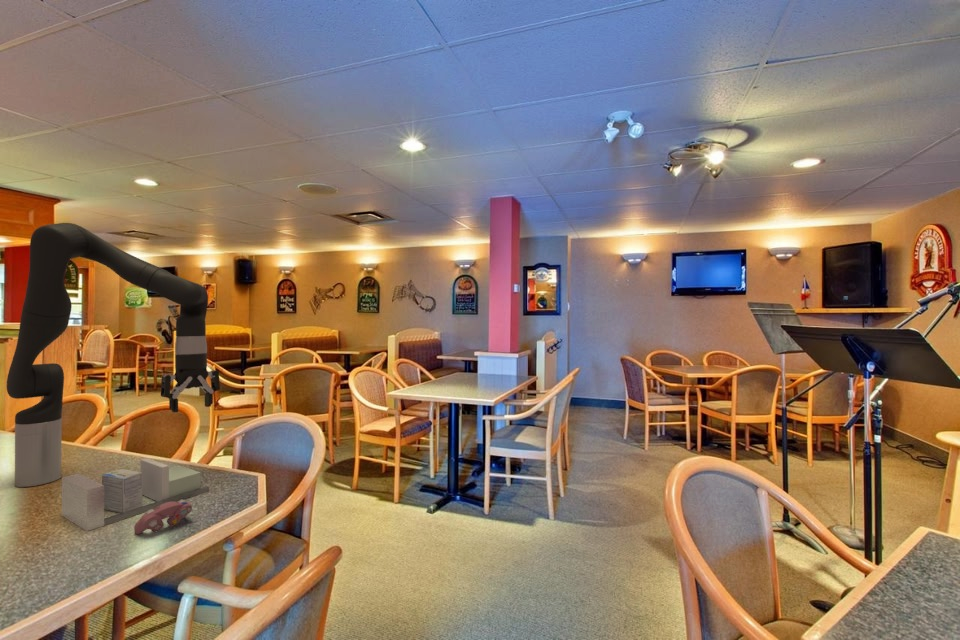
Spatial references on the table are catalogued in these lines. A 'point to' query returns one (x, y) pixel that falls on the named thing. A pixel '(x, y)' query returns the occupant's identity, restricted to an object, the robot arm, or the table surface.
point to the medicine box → (122, 490)
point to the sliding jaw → (167, 480)
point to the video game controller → (163, 516)
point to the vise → (100, 502)
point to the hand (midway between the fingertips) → (191, 409)
